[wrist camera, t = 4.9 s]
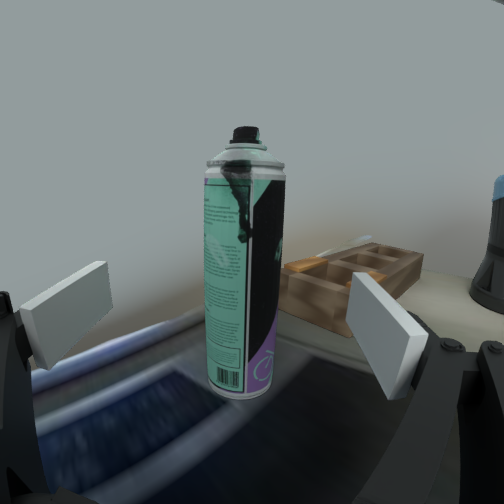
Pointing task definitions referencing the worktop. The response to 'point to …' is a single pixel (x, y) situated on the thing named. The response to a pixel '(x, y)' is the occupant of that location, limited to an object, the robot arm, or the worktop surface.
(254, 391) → the spray can
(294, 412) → the worktop surface
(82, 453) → the worktop surface
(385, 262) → the rack
